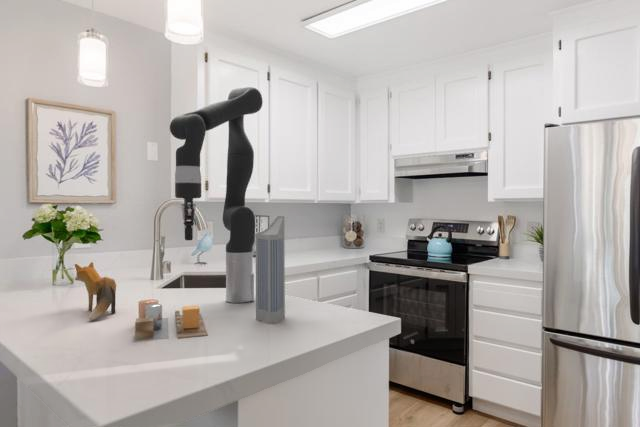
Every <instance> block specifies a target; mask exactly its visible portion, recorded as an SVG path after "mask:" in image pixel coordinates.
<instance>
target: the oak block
mask: <svg viewBox="0 0 640 427" xmlns="http://www.w3.org/2000/svg"><path fill="white" fill-rule="evenodd" d="M134 323H135V324H134V328H135V330H134V333H135V339H142V338H153V336H154V317H149V318H139V317H138V318H135V321H134Z"/></svg>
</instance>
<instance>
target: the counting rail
mask: <svg viewBox="0 0 640 427" xmlns="http://www.w3.org/2000/svg"><path fill="white" fill-rule="evenodd" d="M174 318H175V328H176V335H177V339H189V338H200V337H208V336H209V335H208V331H207V328H206V326H205V323H204V320H203V317H202V314H201V313H200V312H199V327H197V328H186V329H183V324H182V314H180V310H175V311H174Z"/></svg>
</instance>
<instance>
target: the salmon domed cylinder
mask: <svg viewBox="0 0 640 427" xmlns="http://www.w3.org/2000/svg"><path fill="white" fill-rule="evenodd" d="M149 304H159V300H158V299H154V298H153V299H143V300H140V301H139V300H138V318H146V305H149Z"/></svg>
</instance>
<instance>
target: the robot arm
mask: <svg viewBox="0 0 640 427" xmlns="http://www.w3.org/2000/svg"><path fill="white" fill-rule="evenodd" d="M262 96H263V95H262V94H261V91H260V90H259V89H258V88H256V87H250V86H249V87H248V86H247V87H240V88H234V89H231V91H230V92H229V94H228V97H227V100H224V101H223V100H222V101H218V102H214V103H212V104H208V105H207V106H206V105H205V106H204V107H201V108H199V109H197V110H194V111H191V112H188V113H183V114H180V115H177V116H175V117H174V118H172V120H171V121H170V124H169V131H170V133H171V135H172V136H173V137H174V138H175V139H177V140H182V141H184V144H183V145H181V146H180V147H178V148H177V149H176V151H175V172H174V196H175V197H174V198H176V199H183V203H182V204H181V208H180V210H181V211H182V213H181V217H182V218H181V219H182V220H183V222H182V223H183V228H184V240H185V241H192V240H193V238H194V237H193V231H194V225H195V223H194V222H195V221H194V220H195V219H196V215H195V214H196V209H197V207H196V206H197V205H196V204H194V199H201V197H202V171H201V153H202V149H203V145H204V141H205V136H206V132H207V131H210V130H213V129H215V128H217V127H219V126H220V125H223V124H226V123H227V122H228V143H227V144H228V145H227V157H226V158H227V161H226V182H225V183H226V186H225V190H226V191H225V197H224V198H225V199H224V204H223V211H222V223H223V226H224V228H225V229H226V230H228V231H229V232H230V235H229V240H228V242H227V243H226V244H225V301H226V302H227V303H231V304H232V303H233V304H234V303H235V304H236V303H237V304H239V303H241V304H242V303H248V302H254V301H255V274H254V272H253V268H254V267H253V246H254V244H255V234H256V218H255V213H254V212H253V210H252V209H251V208H250V207H248V206H246V199H245V198H246V192H247V188H248V186H249V183H250V181H251V178H252V174H253V171H254V164H255V162H254V161H255V159H254V158H255V152H254V148H253V145H252V143H251V141H250V140H249V138H248V136H247V134H246V132H245V126H244V124H245V123H244V121H245V119H244V118H245V115H253V114H256V113H258V112H259V111H260V110H261V109H262V107H263V97H262Z"/></svg>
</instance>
